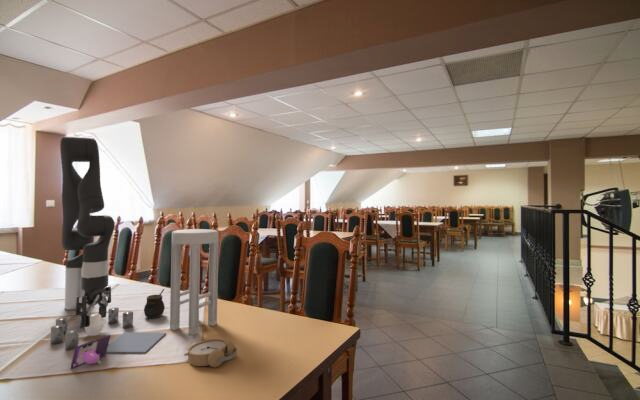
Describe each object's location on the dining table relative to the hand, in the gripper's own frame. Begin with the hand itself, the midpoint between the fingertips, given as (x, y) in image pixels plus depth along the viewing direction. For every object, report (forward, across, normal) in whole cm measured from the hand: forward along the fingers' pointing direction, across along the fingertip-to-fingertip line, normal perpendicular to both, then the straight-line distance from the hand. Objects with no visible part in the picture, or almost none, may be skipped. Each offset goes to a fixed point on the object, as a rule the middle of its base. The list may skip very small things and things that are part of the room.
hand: (94, 321), depth 110 cm
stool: (+5, -8, +31) cm, 32 cm away
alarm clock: (+5, +16, +45) cm, 48 cm away
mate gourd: (+4, -18, +12) cm, 22 cm away
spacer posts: (+4, 0, -2) cm, 5 cm away
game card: (+5, +19, +13) cm, 24 cm away
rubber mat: (+4, +6, +17) cm, 19 cm away
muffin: (+4, 0, 0) cm, 4 cm away
